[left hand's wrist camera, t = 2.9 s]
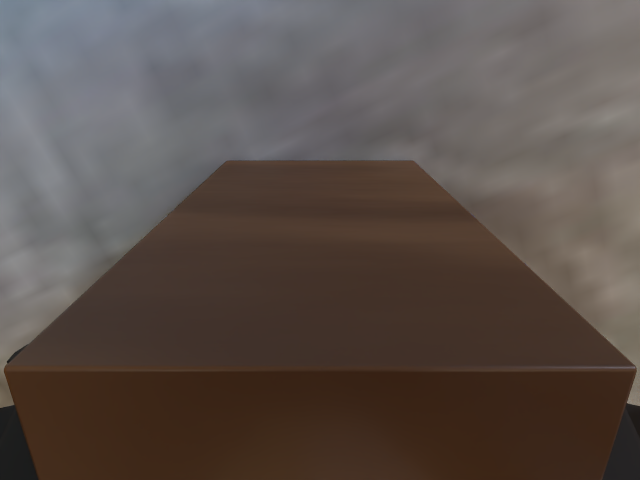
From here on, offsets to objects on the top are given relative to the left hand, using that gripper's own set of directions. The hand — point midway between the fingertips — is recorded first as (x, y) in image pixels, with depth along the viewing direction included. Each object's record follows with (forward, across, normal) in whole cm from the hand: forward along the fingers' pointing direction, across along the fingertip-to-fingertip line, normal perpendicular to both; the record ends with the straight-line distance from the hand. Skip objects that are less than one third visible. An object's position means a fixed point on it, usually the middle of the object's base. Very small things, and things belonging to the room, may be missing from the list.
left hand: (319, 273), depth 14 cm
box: (+1, 0, -10) cm, 10 cm away
